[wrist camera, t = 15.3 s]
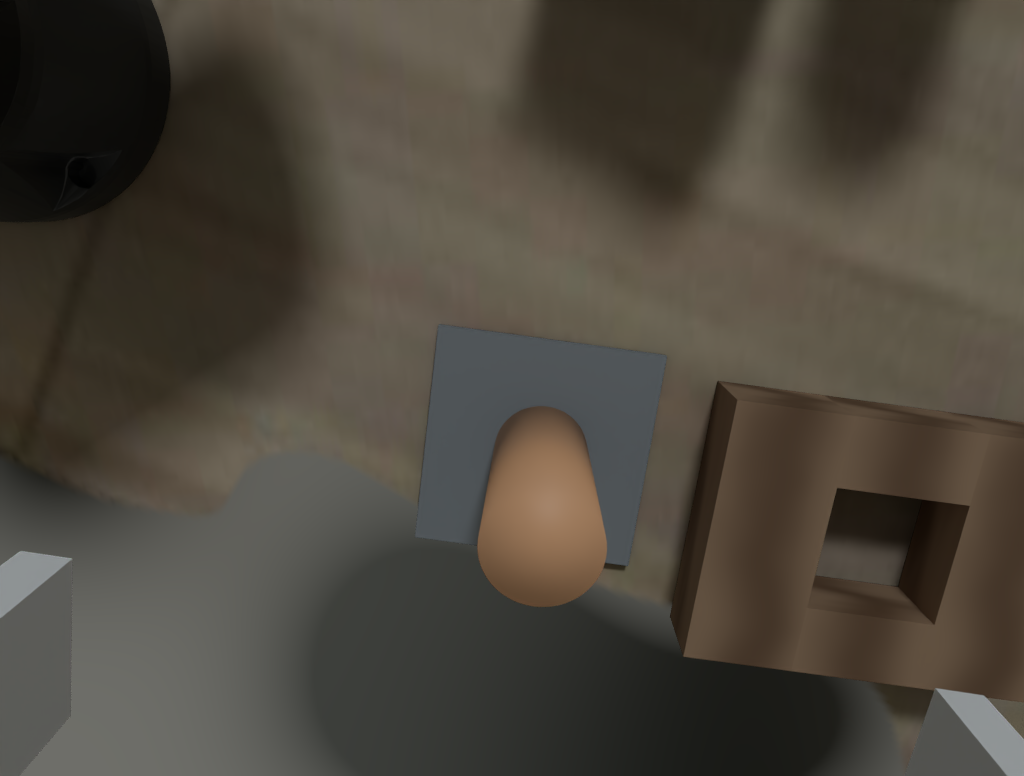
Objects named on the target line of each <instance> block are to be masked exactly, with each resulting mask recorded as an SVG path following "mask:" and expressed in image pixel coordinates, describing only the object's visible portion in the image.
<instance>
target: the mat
mask: <svg viewBox="0 0 1024 776" xmlns="http://www.w3.org/2000/svg"><path fill="white" fill-rule="evenodd" d="M666 359H667V356H666V355H661V354H654V353H647V352H639V351H632V350H625V349H617V348H610V347H603V346H595V345H588V344H581V343H573V342H566V341H559V340H551V339H544V338H537V337H529V336H522V335H515V334H507V333H500V332H493V331H485V330H478V329H471V328H463V327H456V326H448V325H441V324H439V326H438V333H437V342H436V351H435V360H434V369H433V378H432V388H431V397H430V406H429V415H428V424H427V433H426V442H425V451H424V460H423V469H422V478H421V487H420V496H419V505H418V514H417V523H416V532H415V537H417V538H425V539H432V540H440V541H448V542H454V543H462V544H469V545H476V546H477V545H478V536H479V530H480V525H481V519H482V513H483V508H484V502H485V497H486V491H487V485H488V480H489V474H490V468H491V463H492V457H493V451H494V446H495V441H496V437H497V434H498V432H499V430H500V428H501V427H502V425H503V424H504V423H505V422H506V421H507V420H508V418H510V417H511V416H512V415H513V414H515V413H517V412H518V411H521V410H523V409H526V408H529V407H535V406H547V407H552V408H556V409H559V410H561V411H563V412H565V413H566V414H568V415H569V416H571V417H572V418H573V419H574V420H575V421H576V422H577V423H578V425H579V426H580V428H581V429H582V431H583V433H584V435H585V439H586V442H587V447H588V452H589V457H590V462H591V467H592V471H593V476H594V481H595V486H596V491H597V496H598V500H599V505H600V510H601V515H602V520H603V525H604V529H605V534H606V540H607V555H606V560H605V563H610V564H617V565H625V566H628V564H629V559H630V553H631V548H632V542H633V537H634V532H635V526H636V521H637V515H638V510H639V505H640V499H641V494H642V489H643V483H644V478H645V472H646V467H647V462H648V456H649V451H650V445H651V440H652V435H653V429H654V424H655V418H656V413H657V408H658V402H659V397H660V392H661V386H662V381H663V375H664V370H665V365H666Z"/></svg>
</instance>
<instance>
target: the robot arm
mask: <svg viewBox="0 0 1024 776" xmlns="http://www.w3.org/2000/svg"><path fill="white" fill-rule="evenodd" d="M169 90H170V71H169V60H168V53H167V47H166V42H165V38H164V34H163V30H162V27H161V24H160V21H159V18H158V15H157V13H156V10H155V8H154V5H153V3H152V1H151V0H0V221H1V222H45V221H57V220H64V219H68V218H73V217H76V216H79V215H83V214H85V213H88V212H90V211H93V210H95V209H97V208H99V207H101V206H103V205H104V204H106V203H108V202H109V201H111V200H112V199H114V198H115V197H116V196H118V195H119V194H120V193H121V192H123V191H124V190H125V189H126V188H127V187H128V186H129V185H130V184H131V183H132V182H133V181H134V180H135V179H136V177H137V176H138V175H139V174H140V173H141V171H142V170H143V168H144V167H145V165H146V164H147V163H148V161H149V159H150V157H151V156H152V154H153V152H154V150H155V148H156V145H157V143H158V141H159V138H160V136H161V133H162V130H163V126H164V123H165V119H166V114H167V109H168V102H169ZM72 566H73V559H72V558H66V557H58V556H52V555H46V554H39V553H32V552H26V551H20V552H18V553H17V554H15V555H14V556H13V557H11V558H10V559H9V560H7V561H6V562H4V563H3V564H2V565H0V776H20V775H21V773H22V772H23V771H24V770H25V769H26V768H27V766H28V765H29V764H30V763H31V762H32V761H33V759H34V758H35V757H36V756H37V755H38V754H39V752H40V751H41V750H42V749H43V748H44V747H45V745H46V744H47V743H48V742H49V741H50V739H51V738H52V737H53V736H54V735H55V734H56V732H57V731H58V730H59V729H60V728H61V727H62V725H63V724H64V723H65V722H66V721H67V720H68V718H69V717H70V716H71V643H72V642H71V641H72ZM905 776H1024V739H1023V738H1022V737H1021V736H1020V735H1019V734H1018V733H1017V731H1016V730H1015V729H1014V728H1013V727H1012V726H1011V725H1010V724H1009V723H1008V721H1007V720H1006V719H1005V718H1004V717H1003V716H1002V715H1001V714H1000V713H999V711H998V710H997V709H996V708H995V707H994V706H993V705H992V704H991V703H990V702H989V700H988V699H987V698H986V697H985V696H984V695H978V694H971V693H964V692H958V691H951V690H944V689H938V688H935V690H934V693H933V696H932V699H931V702H930V705H929V708H928V710H927V713H926V716H925V719H924V722H923V725H922V727H921V730H920V733H919V736H918V739H917V742H916V744H915V747H914V750H913V753H912V756H911V759H910V762H909V764H908V767H907V770H906V773H905Z"/></svg>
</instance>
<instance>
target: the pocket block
mask: <svg viewBox="0 0 1024 776" xmlns="http://www.w3.org/2000/svg"><path fill="white" fill-rule="evenodd" d="M837 488H842V489H849V490H856V491H864V492H871V493H879V494H886V495H893V496H901V497H908V498H915V499H923V500H922V504H921V507H920V511H919V515H918V518H917V522H916V525H915V529H914V532H913V536H912V540H911V543H910V547H909V550H908V554H907V557H906V561H905V565H904V568H903V572H902V575H901V579H900V582H899V586H898V587H895V586H888V585H881V584H873V583H866V582H858V581H851V580H844V579H836V578H829V577H821V576H815V574H816V570H817V566H818V562H819V558H820V554H821V550H822V546H823V542H824V538H825V534H826V530H827V526H828V522H829V518H830V514H831V510H832V506H833V502H834V498H835V494H836V490H837ZM670 618H671V621H672V624H673V627H674V630H675V633H676V636H677V639H678V642H679V645H680V648H681V651H682V654H683V656H684V657H690V658H697V659H705V660H712V661H719V662H727V663H734V664H742V665H749V666H757V667H764V668H773V669H779V670H787V671H794V672H802V673H809V674H816V675H825V676H832V677H839V678H846V679H854V680H861V681H868V682H876V683H883V684H891V685H898V686H905V687H913V688H920V689H928V690H935V688H938V689H944V690H951V691H958V692H964V693H971V694H978V695H984V696H985V697H987V698H995V699H1002V700H1010V701H1017V702H1024V423H1022V422H1015V421H1008V420H1000V419H993V418H986V417H978V416H971V415H964V414H956V413H949V412H942V411H934V410H927V409H920V408H912V407H905V406H898V405H890V404H883V403H876V402H868V401H861V400H854V399H846V398H839V397H832V396H824V395H817V394H810V393H802V392H795V391H787V390H780V389H773V388H765V387H758V386H751V385H743V384H736V383H729V382H721V381H718V383H717V388H716V393H715V398H714V403H713V408H712V413H711V418H710V422H709V427H708V432H707V437H706V442H705V447H704V452H703V457H702V462H701V467H700V472H699V477H698V481H697V486H696V491H695V496H694V501H693V506H692V511H691V516H690V521H689V526H688V531H687V536H686V540H685V545H684V550H683V555H682V560H681V565H680V570H679V575H678V580H677V585H676V590H675V595H674V599H673V604H672V609H671V614H670Z"/></svg>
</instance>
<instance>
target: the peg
mask: <svg viewBox="0 0 1024 776" xmlns="http://www.w3.org/2000/svg"><path fill="white" fill-rule="evenodd" d="M477 548H478V557H479V562H480V565H481V567H482V570H483V572H484V574H485V575H486V577H487V579H488V580H489V582H490V583H491V584H492V585H493V586H494V587H495V588H496V589H497V590H498V591H499V592H500V593H501V594H503V595H505V596H506V597H508V598H509V599H511V600H513V601H515V602H518V603H521V604H524V605H528V606H535V607H551V606H557V605H561V604H565V603H567V602H570V601H572V600H574V599H576V598H577V597H579V596H581V595H582V594H583V593H585V592H586V591H587V590H588V589H589V588H590V587H591V586H592V585H593V584H594V583H595V581H596V580H597V579H598V577H599V575H600V574H601V572H602V569H603V567H604V564H605V560H606V555H607V540H606V534H605V529H604V525H603V520H602V515H601V510H600V505H599V500H598V496H597V491H596V486H595V481H594V476H593V471H592V467H591V462H590V457H589V452H588V447H587V442H586V439H585V435H584V433H583V431H582V429H581V428H580V426H579V425H578V423H577V422H576V421H575V420H574V419H573V418H572V417H571V416H569V415H568V414H566V413H565V412H563V411H561V410H559V409H556V408H552V407H547V406H535V407H529V408H526V409H523V410H521V411H518V412H517V413H515V414H513V415H512V416H511V417H510V418H508V420H507V421H506V422H505V423H504V424H503V425H502V427H501V428H500V430H499V432H498V434H497V437H496V441H495V446H494V451H493V457H492V463H491V468H490V474H489V480H488V485H487V491H486V497H485V502H484V508H483V513H482V519H481V525H480V530H479V536H478V545H477Z"/></svg>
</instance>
